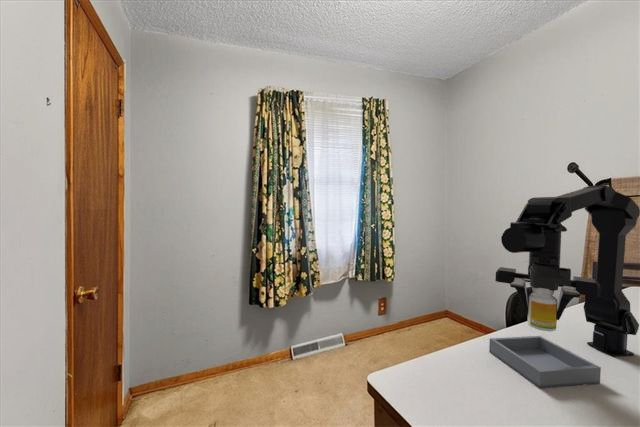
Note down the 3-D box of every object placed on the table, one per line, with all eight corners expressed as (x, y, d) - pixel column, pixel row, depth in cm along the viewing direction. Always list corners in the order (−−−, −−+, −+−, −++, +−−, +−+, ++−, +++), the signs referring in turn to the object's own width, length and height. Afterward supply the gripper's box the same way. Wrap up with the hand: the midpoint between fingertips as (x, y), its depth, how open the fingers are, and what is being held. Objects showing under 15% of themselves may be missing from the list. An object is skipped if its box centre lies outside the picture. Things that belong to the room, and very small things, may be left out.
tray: (539, 349, 75) (539, 335, 75) (599, 383, 61) (600, 367, 61) (489, 351, 74) (489, 338, 73) (539, 388, 59) (540, 371, 59)
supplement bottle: (561, 333, 64) (563, 290, 63) (534, 330, 65) (536, 289, 64) (547, 323, 69) (549, 283, 69) (522, 321, 70) (524, 282, 70)
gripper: (493, 250, 66) (491, 317, 66) (607, 261, 54) (603, 341, 55) (499, 245, 74) (497, 303, 75) (597, 253, 63) (594, 322, 64)
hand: (541, 316), depth 67 cm, fingers closed on supplement bottle, 5 cm apart
